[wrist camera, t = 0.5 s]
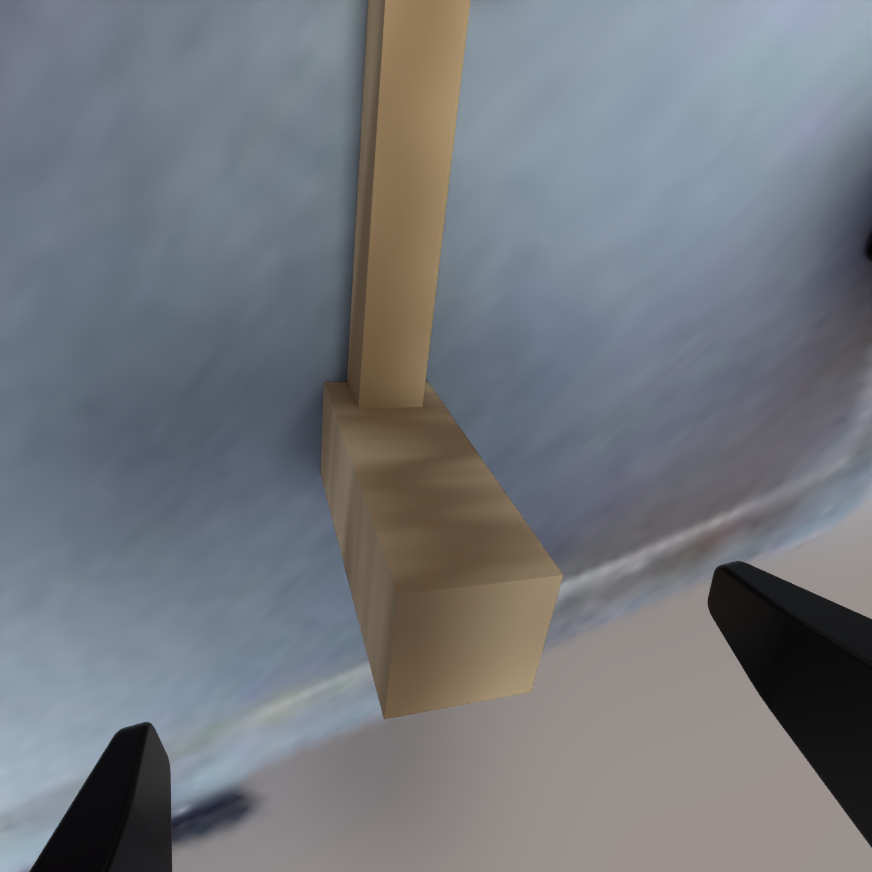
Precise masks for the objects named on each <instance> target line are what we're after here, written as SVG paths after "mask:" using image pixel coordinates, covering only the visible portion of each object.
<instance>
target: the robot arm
mask: <svg viewBox="0 0 872 872" xmlns="http://www.w3.org/2000/svg"><path fill="white" fill-rule="evenodd" d="M867 253H868V258H869V259H870V260H872V241H871V243H870V245H869V248H868V252H867ZM708 608H709V611H710V614H711V616H712V617H713V619H714V621H715V622H716V624H717V626H718V627H719V629H720V631H721V632H722V634H723V636H724V637H725V639H726V641H727V642H728V644H729V645H730V647H731V649H732V651H733V652H734V654H735V656H736V657H737V659H738V660H739V662H740V664H741V665H742V667H743V669H744V671H745V672H746V674H747V676H748V677H749V679H750V681H751V682H752V684H753V685H754V687H755V689H756V690H757V692H758V693H759V695H760V696H761V697H762V699H763V701H764V702H765V703H766V705H767V706H768V708H769V709H770V710H771V712H772V713H773V714H774V716H775V717H776V719H777V720H778V721H779V723H780V724H781V725H782V727H783V728H784V729H785V731H786V732H787V733H788V734H789V736H790V737H791V739H792V740H793V741H794V743H795V744H796V746H797V747H798V748H799V750H800V751H801V752H802V754H803V755H804V757H805V758H806V759H807V761H808V762H809V763H810V765H811V766H812V767H813V769H814V770H815V771H816V773H817V774H818V775H819V777H820V778H821V780H822V781H823V782H824V783H825V785H826V786H827V788H828V789H829V790H830V792H831V793H832V795H833V796H834V797H835V799H836V800H837V801H838V803H839V804H840V805H841V807H842V808H843V809H844V811H845V812H846V814H847V815H848V816H849V818H850V819H851V820H852V822H853V823H854V824H855V826H856V827H857V828H858V830H859V831H860V832H861V834H862V835H863V836H864V838H865V839H866V841H867V842H868V843H869V845H870V846H871V847H872V619H870V618H868V617H866V616H863V615H861V614H859V613H857V612H854V611H852V610H850V609H848V608H846V607H843V606H841V605H839V604H837V603H834V602H832V601H830V600H828V599H825V598H823V597H821V596H819V595H816V594H814V593H812V592H810V591H808V590H805V589H803V588H801V587H798V586H796V585H794V584H792V583H790V582H787V581H785V580H783V579H781V578H778V577H776V576H774V575H772V574H769V573H767V572H765V571H763V570H761V569H758V568H756V567H754V566H752V565H749V564H747V563H745V562H741V561H735V562H731V563H727V564H723V565H720V566H718V567H717V568H716V569H715V571H714V574H713V579H712V583H711V587H710V592H709V596H708ZM29 872H172V835H171V774H170V764H169V759H168V756H167V753H166V751H165V749H164V747H163V745H162V743H161V741H160V738H159V736H158V734H157V732H156V730H155V728H154V726H153V725H152V724H151V723H149V722H144V723H140V724H136V725H133V726H129V727H125V728H123V729H120V730H119V731H118V732H117V733H116V734H115V735H114V737H113V738H112V740H111V741H110V743H109V745H108V746H107V748H106V749H105V751H104V753H103V754H102V756H101V757H100V759H99V761H98V762H97V764H96V765H95V767H94V769H93V770H92V772H91V773H90V775H89V777H88V778H87V780H86V781H85V783H84V785H83V786H82V788H81V790H80V791H79V793H78V794H77V796H76V798H75V799H74V801H73V802H72V804H71V806H70V807H69V809H68V810H67V812H66V814H65V815H64V817H63V818H62V820H61V822H60V823H59V825H58V826H57V828H56V830H55V831H54V833H53V834H52V836H51V838H50V839H49V841H48V842H47V844H46V846H45V847H44V849H43V851H42V852H41V854H40V855H39V857H38V859H37V860H36V862H35V863H34V865H33V867H32V868H31V870H30V871H29Z"/></svg>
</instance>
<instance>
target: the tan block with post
mask: <svg viewBox="0 0 872 872" xmlns="http://www.w3.org/2000/svg"><path fill="white" fill-rule="evenodd" d="M469 9H470V0H368V10H367V29H366V47H365V65H364V83H363V101H362V120H361V138H360V156H359V174H358V193H357V211H356V229H355V247H354V265H353V284H352V302H351V320H350V338H349V357H348V375H347V382H324V397H323V424H322V452H321V477H322V481H323V485H324V489H325V493H326V497H327V501H328V505H329V508H330V512H331V516H332V520H333V524H334V528H335V532H336V535H337V539H338V543H339V547H340V551H341V555H342V559H343V562H344V566H345V570H346V574H347V578H348V582H349V586H350V590H351V593H352V597H353V601H354V605H355V609H356V613H357V617H358V620H359V624H360V628H361V632H362V636H363V640H364V644H365V648H366V651H367V655H368V659H369V663H370V667H371V671H372V675H373V678H374V682H375V686H376V690H377V694H378V698H379V702H380V705H381V709H382V713H383V717H384V719H388V718H394V717H399V716H405V715H410V714H416V713H421V712H426V711H432V710H437V709H443V708H448V707H453V706H459V705H464V704H470V703H475V702H480V701H486V700H491V699H497V698H502V697H507V696H513V695H518V694H524V693H529V692H531V691H532V687H533V684H534V680H535V676H536V673H537V669H538V665H539V662H540V658H541V654H542V651H543V647H544V643H545V640H546V636H547V632H548V629H549V625H550V621H551V618H552V614H553V610H554V607H555V603H556V599H557V596H558V592H559V588H560V585H561V581H562V577H563V574H562V573H561V571H560V570H559V569H558V567H557V566H556V564H555V563H554V561H553V560H552V559H551V557H550V556H549V554H548V553H547V551H546V550H545V549H544V547H543V546H542V544H541V543H540V541H539V540H538V538H537V537H536V536H535V534H534V533H533V531H532V530H531V528H530V527H529V526H528V524H527V523H526V521H525V520H524V518H523V517H522V516H521V514H520V513H519V511H518V510H517V508H516V507H515V506H514V504H513V503H512V501H511V500H510V498H509V497H508V496H507V494H506V493H505V491H504V490H503V488H502V487H501V486H500V484H499V483H498V481H497V480H496V478H495V477H494V476H493V474H492V473H491V471H490V470H489V468H488V467H487V466H486V464H485V463H484V461H483V460H482V458H481V457H480V456H479V454H478V453H477V451H476V450H475V448H474V447H473V446H472V444H471V443H470V441H469V440H468V438H467V437H466V436H465V434H464V433H463V431H462V430H461V428H460V427H459V426H458V424H457V423H456V421H455V420H454V418H453V417H452V416H451V414H450V413H449V411H448V410H447V408H446V407H445V406H444V404H443V403H442V401H441V400H440V398H439V397H438V396H437V394H436V393H435V391H434V390H433V388H432V387H431V385H430V384H429V383H428V381H425V380H426V372H427V364H428V355H429V347H430V338H431V330H432V321H433V313H434V304H435V296H436V287H437V279H438V271H439V262H440V254H441V245H442V237H443V228H444V220H445V211H446V203H447V195H448V186H449V178H450V169H451V161H452V152H453V144H454V135H455V127H456V118H457V110H458V102H459V93H460V85H461V76H462V68H463V59H464V51H465V42H466V34H467V25H468V17H469Z"/></svg>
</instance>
